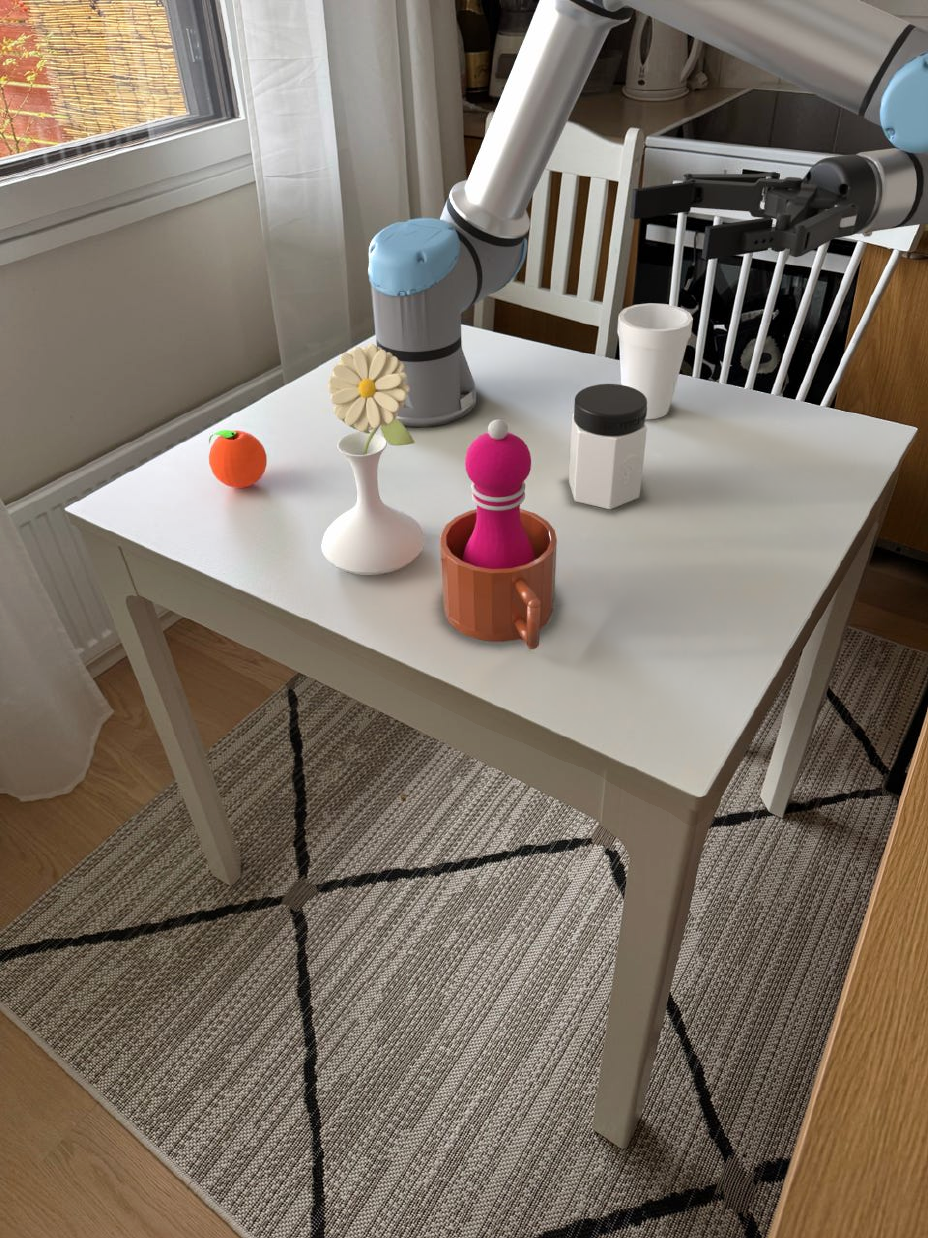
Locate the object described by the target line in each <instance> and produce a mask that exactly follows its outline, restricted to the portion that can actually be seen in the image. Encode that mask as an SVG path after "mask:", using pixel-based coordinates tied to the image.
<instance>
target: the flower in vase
mask: <svg viewBox="0 0 928 1238" xmlns="http://www.w3.org/2000/svg"><path fill="white" fill-rule="evenodd" d="M403 370H404V364H403V363H402V362H401V361H398V359H397V357H395V356H393V355H392V354H391V353H389V352H388V353H386V351H385V350H382V348H380V347H377V345H375V343H371V344H368V346H364V347H363V348H361V347H358V346H357V347H354V348H353V350H352V351H350V352H344V353H342V354H341V355H340V360H339V361H338V363H337V364H334V365H333V366H332V376H330V377H329V378H328V386H327V391H328V392H329V393H330V394H332V395H331V396H330V402H331V404H333V405H334V407H333V413H334V415H336V418H337V419H338V420H340V421H342V422H343V423H344V424H345V425H347V426H349V427H350V428H352V429H353V430H357V431H358V432H353V433H349V434H347V435H346V436H344V437H342V438H341V439H340V440H339V441H338V443H337V448H338V450H339V452H340V453H341V454H342V455H343V456H345V458H346V459H347V461H348V462H349V464H350V467H351V469H352V472H353V475H354V479H355V485H356V493H357V496H356V497H357V499H356V503H355V505H354V506H353V507H352V508H351V509H349V510H347V511H346V512H344V513H343V514H341V515H339V517H337V518H336V519H335V520H334V521H333V522H332V523H331V524H330V525H329V526H328V527H327V529H326V530H325V531H324V534H323V537H322V541H321V552H322V555H323V557H325V559H326V560H327V561H328V562H329V563H330V564H332V566H334V567H336V568H337V569H338V570H341V571H343V572H346V573H350V574H354V575H361V576H375V575H376V576H377V575H383V574H388V573H392V572H395V571H398V570H400V569H402V568H404V567H406V566H408V565H409V564H411V563H412V562H413V561H414V560H415V559H417V557H418V556H419V554H421V552H422V550H423V549H424V546H425V544H426V543H425V542H426V535H425V532H424V531H423V528H422V527H421V525H420V524H419V522H418V521H417V520H416V519H415V518H414V517H412V516H410V515H409V514H408V513H406V512H404V511H403V510H400V509H398V508H396V507H393V506H390V505H387V504H385V503H384V502H383V501H382V499H381V496H380V493H379V487H378V486H379V485H378V469H379V462H380V459H381V455H382V453H383V452H384V450H385V449H386V447H387V446H388V444H389V445H392V446H396V447H397V446H398V447H399V446H407V445H412V444H415V443H416V442H415V440H414V438H413V437H412V435H411V434H410V432H409V431H408V430H407V428H406V426H404V425H403V423H402V422H401V421H400V420H399V419H397V418H396V417H397V416H398V410H399V409H401V408H402V407H403V406H404V400H405V399H406V397H407V395H406V394H408V393H409V390H410V388H409V386H408V385H407V384H405V383H404V382H405V381H406V379H407V376H406V374H405V373H404V372H402V371H403ZM379 428H380V430H381V434H380V433H377V431H378V429H379Z"/></svg>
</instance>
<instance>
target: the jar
mask: <svg viewBox="0 0 928 1238" xmlns="http://www.w3.org/2000/svg"><path fill="white" fill-rule="evenodd" d="M573 410H574V411H573V413H572V415H571V436H570V450H569V451H570V453H569V469H568V471H569V472H568V483H569V486H570V487H569V488H570V491H571V494H572V497H573V501H574V502H576V503H581V504H585V505H589V506H593V507H596V508H597V507H598V508H601V509H606V510H612V509H615V508H618V507H620V506H622V505H626V504H627V503H629V502H632V501H634V500H637V499H639V498H640V495H641V486H642V479H643V478H642V476H643V468H644V460H645V451H646V442H647V441H646V440H647V432H648V427H647V424H646V419H645V418H646V415H647V399H646V397H645V395H644V394H643V393H641V392H640V391H638V390H636V389H634V388H632V387H629V386H625V385H621V384H618V383H601V384H593V385H590V386H586V387H585V388H583V389H581V390H580V391H578V392H577V394H576V395H575V397H574V407H573Z"/></svg>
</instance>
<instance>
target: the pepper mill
mask: <svg viewBox="0 0 928 1238" xmlns="http://www.w3.org/2000/svg"><path fill="white" fill-rule="evenodd" d="M464 467H465V472H466V474H467V476H468V478H469V480H470V481H471V482H472V483H471V486H470V489H471V500H472V501H473V503H474V504H475V505H476V509H477V520H476V524H475V529H474V531H473V533H472V535H471V537H470V539H469V541H468V543H467V545H466V547H465V551H464V554H463V562H466V563H468V564H471V565H474V566H476V567H482V568H489V569H507V568H514V567H518V566H522V565H526V564H528V563H530V562H532V561H534V560H535V556H534V552H533V549H532V545H531V543H530V541H529V539H528V537H527V535H526V533H525V531H524V528H523V526H522V522H521V519H520V509H521V504H523V502H524V501H525V498H526V492H525V491H526V484H525V481H526V479H527V478H528V476H529V475H530V473H531V470H532V469H531V468H532V456H531V452H530V450H529V447H528V445H527V443H526V442H525V441H524V440H523V439H522V438H520V437H519V436H518V435H516V434H513V433H512V432H509V427H508V424H507V423H506V422H505V421H504V420H502V419H494V420H492V421H491V422H490V423H489V424H488V427H487V432H485V433H483V434H480V435H479V436H478V437H477V438H475V439H473V441H472V442H471V443H470V445H469V447H468V448H467V451H466V454H465V460H464Z"/></svg>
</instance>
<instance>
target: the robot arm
mask: <svg viewBox="0 0 928 1238" xmlns="http://www.w3.org/2000/svg"><path fill="white" fill-rule="evenodd" d="M635 10H636V11H638V12H641V13H642V14H644V15H647V16H649V17H651V18H653V19H655V20H658V21H659V22H661V23H664V24H665V25H667V26H670V27H672V28H674V29H676V30H678V31H680V32H682V33H684V34H687V35H689V36H691V37H693V38H695V39H697V40H699V41H701V42H704V43H706V44H708V45H710V46H712V47H714V48H716V49H719V50H721V51H723V52H724V53H727V54H728V55H731V56H733V57H735V58H737V59H738V60H739V59H740V60H741V61H744V62H746V63H748V64H750V65H752V66H754V67H757V68H758V69H761V70H763V71H765V72H766V73H769V74H771V75H773V76H775V77H777V78H780V79H782V80H783V81H786V82H788V83H789V84H792V85H793V86H796V87H799V88H801V89H803V90H805V91H807V92H809V93H811V94H813V95H815V96H818V97H819V98H822V99H824V100H826V101H828V102H829V103H832V104H834V105H837V106H839V107H840V108H842V109H845V110H847V111H849V112H851V113H853V114H856V115H857V116H859V117H862V118H864V119H865V120H866V121H869V122H871V123H872V124H875V125H876V126H879V127H881V129H882V130H883V133H884V135H885V137H886V138H887V139H888V141H889V142H890V143H891V144H892V145H893V146H894V148H893V147H892V148H886V149H876V150H869V151H862V152H858V153H856V154H855V153H853V154H845V155H837V156H830V157H824V158H822V159H820V160H817V161H816V163H814V164H813V165H812V166H811V167H810V168H809V170H808V171H807V173H806V174H805V176H803V178H802V177H797V176H796V177H795V176H787V177H784V178H780V176H781V174H780V173H779V172H777V171H772V172H766V173H765V172H763V173H748V174H747V173H685V174H683V176H682V181H681V182H674V183H668V184H667V183H666V184H660V185H652V186H646V187H645V186H644V187H637V188H632V193H631V194H632V195H631V206H630V216H629V217H630V219H632V220H641V219H649V218H653V217H661V216H667V215H674V214H675V215H676V214H681V213H682V214H683V215H686V216H688V215H689V214H690V212H691V210H692V208H695V209H705V210H706V209H709V210H719V211H720V210H723V211H735V212H736V211H737V212H748V213H749V214H750V216H751V217H753V218H755V219H748V220H740V221H733V222H727V223H721V224H715V225H707V226H705V230H704V235H703V236H704V237H703V244H702V250H701V259H703V260H705V261H710V260H717V259H723V258H728V257H735V256H741V255H747V254H753V253H759V252H766V251H769V249H770V250H771V251H773V252H775V253H780V252H781V253H782V252H785V250H789V251H788V255H789V256H791V257H793V258H799V257H803V256H805V255H806V254H808V253H811V252H813V250H816V249H817V248H820V247H821V246H824V245H825V244H827V243H829V242H830V241H833V240H835V239H838V238H845V237H846V238H847V237H852V236H854V235H861V234H862V236H863V237H864V238H866V237H868V238H869V237H871V236H872V235H873V232H879V231H885V230H892V229H897V228H904V227H912V226H918V225H926V224H928V30H927V29H924V28H922V27H919V26H916V25H914V24H912V23H911V22H909V21H906V20H904V19H902V18H900V17H898V16H896V15H893V14H891V13H889V12H887V11H884V10H882V9H880V8H877V7H876V6H873V5H871V4H870V3H867V2H864V1H862V0H539V1H538V3H537V6H536V8H535V11H534V13H533V16H532V19H531V21H530V24H529V26H528V28H527V31H526V34H525V36H524V39H523V41H522V44H521V46H520V49H519V51H518V54H517V56H516V59H515V61H514V64H513V66H512V69H511V70H510V74H509V76H508V78H507V81H506V83H505V86H504V88H503V90H502V94H501V95H500V99H499V101H498V103H497V106H496V108H495V111H494V113H493V116H492V119H491V121H490V123H489V126H488V128H487V131H486V133H485V136H484V138H483V140H482V143H481V145H480V148H479V151H478V153H477V155H476V158H475V161H474V164H473V165H472V168H471V171H470V173H469V176H468V177H467V179H465V180H462V181H459V182H457V183H455V184H454V185H453V186H452V188H451V190H450V192H449V195H448V197H447V200H446V202H445V204H444V207H443V209H442V213H441V215H440V217H439V218H432V217H416V218H410V219H408V220H407V221H398V222H395V223H392V224H390V225H388V226H386V227H384V228H383V229H381V230H380V231H379V232H378V233H376V235H375V236H374V237H373V239H372V240H371V242H370V245H369V247H368V262H369V263H368V269H367V274H368V279H369V283H370V293H371V302H372V303H371V304H372V313H373V322H374V333H375V341H376V342H375V343H376V347H380V348H382V350H385V351H386V353H388V352H389V353H391V354H392V355H393V356H395V357H397V359H398V361H401V362H402V363H403V364H404V370H403V371H402V372H404V373H405V374H406V376H407V379H406V381H405V382H404V383H405V384H407V385H408V386H409V388H410V390H409V393H408V394H406V395H407V397H406V399H405V400H404V406H403V407H402V408H401V409H399V410H398V416H397V417H396V418H397V419H399V420H400V421H401V422H402V423H403V425H404V426H405V427H413V428H414V427H417V428H419V427H421V428H422V427H423V428H424V427H433V426H439V425H444V424H448V423H451V422H455V421H457V420H459V419H461V418H463V417H465V416H466V415H468V414H469V413H470V412H471V411H472V410H473V409H474V408H475V406H476V403H477V389H476V384H475V380H474V377H473V375H472V371H471V370H470V365H469V364H468V361H467V359H466V356H465V353H464V350H463V343H462V342H463V341H462V313H463V312H465V311H466V310H468V309H470V308H471V307H473V306H475V305H476V304H477V303H479V302H480V301H482V300H483V299H485V298H487V297H489V296H490V295H492V294H495V293H497V292H499V291H500V290H502V289H503V288H505V287H506V286H507V284H509V283H511V281H512V280H513V279H514V278H515V277H516V276H517V274H518V273H519V272H520V270H521V268H522V267H523V264H524V262H525V259H526V256H527V249H528V239H527V238H526V237H527V234H528V232H529V231H530V227H531V220H530V217H529V214H528V212H527V208H528V206H529V204H530V201H531V199H532V197H533V195H534V193H535V191H536V189H537V186H538V184H539V182H540V180H541V179H542V176H543V174H544V172H545V170H546V167H547V165H548V163H549V161H550V159H551V157H552V155H553V152H554V151H555V148H556V145H557V144H558V142H559V140H560V138H561V135H562V133H563V131H564V129H565V127H566V125H567V122H568V121H569V118H570V116H571V114H572V112H573V110H574V107H575V105H576V103H577V101H578V99H579V97H580V94H581V92H582V91H583V88H584V86H585V85H586V83H587V80H588V77H589V75H590V74H591V71H592V69H593V68H594V65H595V63H596V61H597V58H598V56H599V54H600V52H601V50H602V48H603V45H604V43H605V41H606V39H607V37H608V35H609V33H610V31H611V30H612V29H613V28H614V27H618V26H619V25H622V24H624V23H627V22H629V21H630V19H631V18H632V16H633V13H634V12H635ZM761 203H764V204H763V208H762V207H761ZM774 220H775V226H773V223H774Z"/></svg>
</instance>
